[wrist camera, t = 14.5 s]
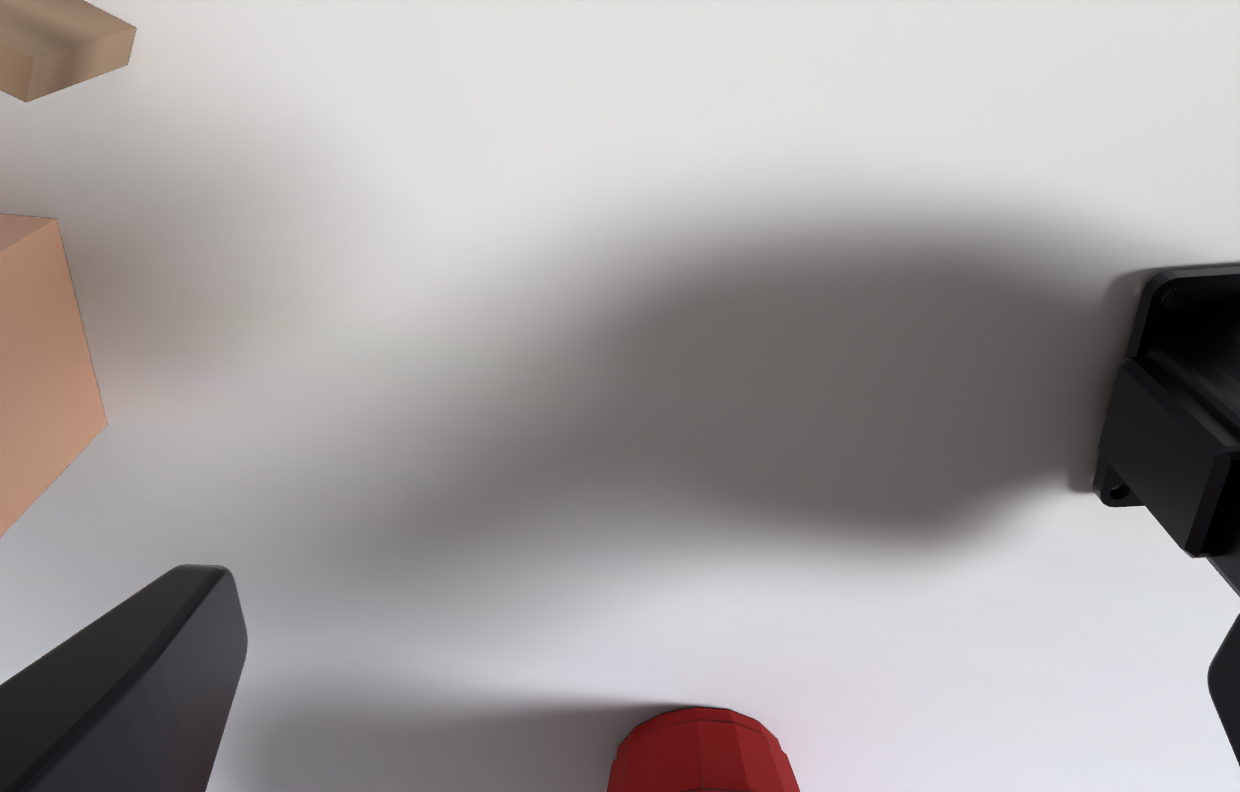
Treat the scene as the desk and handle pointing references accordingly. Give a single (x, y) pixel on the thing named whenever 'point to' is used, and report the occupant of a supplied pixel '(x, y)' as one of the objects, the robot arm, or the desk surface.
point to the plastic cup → (701, 755)
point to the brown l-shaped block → (58, 45)
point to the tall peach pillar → (40, 365)
